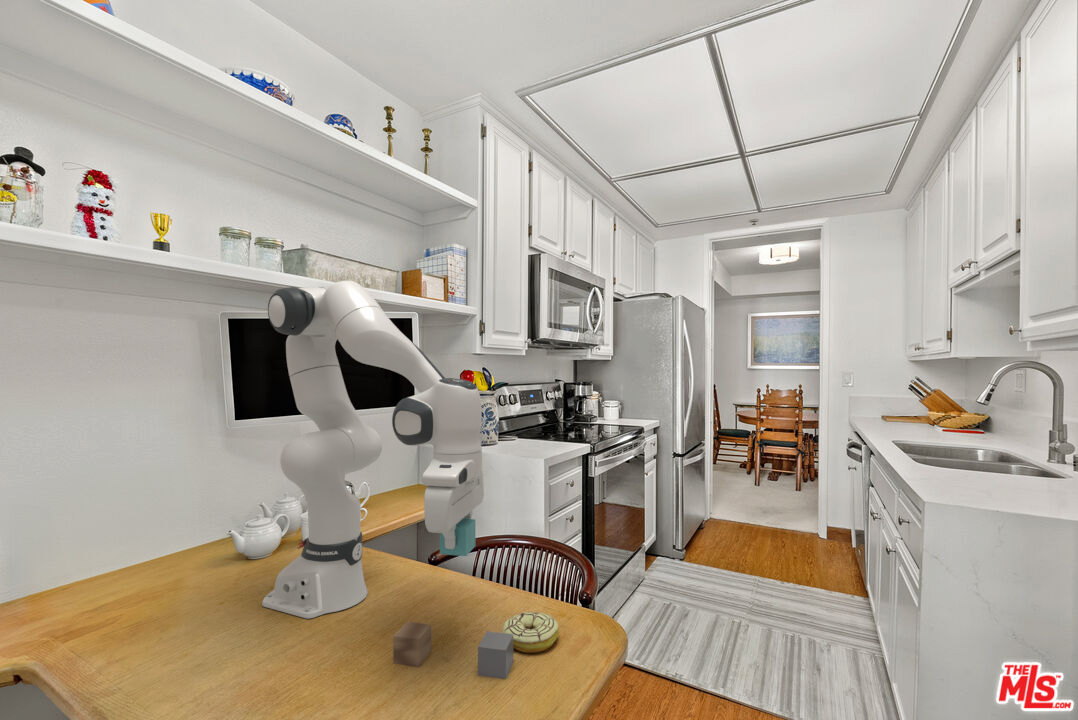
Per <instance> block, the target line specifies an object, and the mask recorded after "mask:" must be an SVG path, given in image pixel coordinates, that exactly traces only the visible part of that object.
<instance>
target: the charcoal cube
mask: <svg viewBox="0 0 1078 720" xmlns="http://www.w3.org/2000/svg"><path fill="white" fill-rule="evenodd" d="M513 663H514V648H513V634H507V633H503V632H497V631H489V630H488V631H487V630H486V632H485V634H484V636H483V638H482V639H481V641H480V642H479V644H478V645H477V672H478V673H477V676H480V677H488V678H495V679H503V680H507V678H508V675H509V674H510V670H511V668H512V665H513Z"/></svg>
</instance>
